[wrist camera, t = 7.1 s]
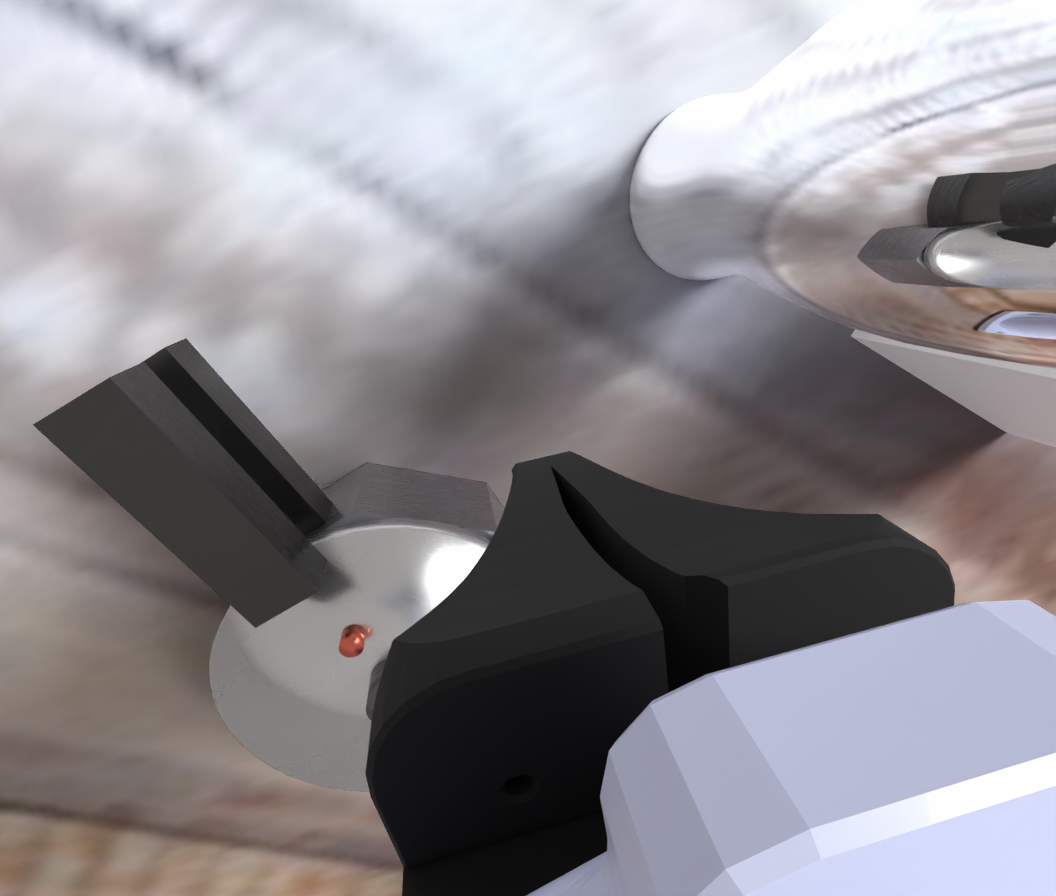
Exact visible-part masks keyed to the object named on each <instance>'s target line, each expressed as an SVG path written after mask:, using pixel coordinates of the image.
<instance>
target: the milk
mask: <svg viewBox="0 0 1056 896" xmlns="http://www.w3.org/2000/svg"><path fill="white" fill-rule="evenodd" d="M851 337H852V338H854V339H856V340H857V341H859V342H860V343H862V344H864V345H865V346H867V347H869V348H870V349H872V350H873V351H875V352H877V353H878V354H880V355H882V356H883V357H885V358H886V359H888V360H890V361H891V362H893V363H894V364H896V365H898V366H899V367H901V368H903V369H904V370H906V371H907V372H909V373H911V374H912V375H914V376H916V377H917V378H919V379H920V380H922V381H924V382H925V383H927V384H928V385H930V386H932V387H933V388H935V389H937V390H938V391H940V392H941V393H943V394H945V395H946V396H948V397H950V398H951V399H953V400H954V401H956V402H958V403H959V404H961V405H962V406H964V407H966V408H967V409H969V410H971V411H972V412H974V413H975V414H977V415H979V416H980V417H982V418H984V419H985V420H987V421H988V422H990V423H992V424H993V425H995V426H996V427H998V428H1000V429H1001V430H1003V431H1005V432H1006V433H1009V434H1012V435H1016V436H1019V437H1022V438H1026V439H1029V440H1032V441H1036V442H1039V443H1042V444H1046V445H1049V446H1052V447H1056V369H1054V368H1046V367H1039V366H1032V365H1026V364H1019V363H1012V362H1006V361H999V360H993V359H986V358H979V357H973V356H967V355H962V354H957V353H952V352H947V351H942V350H937V349H932V348H926V347H921V346H916V345H911V344H907V343H903V342H899V341H896V340H892V339H889V338H885V337H881V336H878V335H874V334H871V333H867V332H863V331H860V330H856V329H855V330H854V332H853V333H852V335H851Z"/></svg>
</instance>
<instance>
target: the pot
mask: <svg viewBox="0 0 1056 896" xmlns="http://www.w3.org/2000/svg"><path fill="white" fill-rule="evenodd" d="M143 362H145V364H146V365H147V366H148V367H149V368H150V369H151V370H152V371H153V372H154V373H155V374H156V375H157V377H158V378H159V379H160V380H161V381H162V382H163V383H164V384H165V385H166V386H167V387H168V388H169V389H170V391H171V392H172V393H173V394H174V395H175V396H176V397H177V398H178V399H179V400H180V401H181V402H182V404H183V405H184V406H185V407H186V408H187V409H188V410H189V411H190V412H191V413H192V414H193V415H194V417H195V418H196V419H197V420H198V421H199V422H200V423H201V424H202V425H203V426H204V427H205V428H206V430H207V431H208V432H209V433H210V434H211V435H212V436H213V437H214V438H215V439H216V440H217V441H218V443H219V444H220V445H221V446H222V447H223V448H224V449H225V450H226V451H227V452H228V453H229V454H230V455H231V457H232V458H233V459H234V460H235V461H236V462H237V463H238V464H239V465H240V466H241V467H242V468H243V470H244V471H245V472H246V473H247V474H248V475H249V476H250V477H251V478H252V479H253V480H254V481H255V483H256V484H257V485H258V486H259V487H260V488H261V489H262V490H263V491H264V492H265V493H266V494H267V496H268V497H269V498H270V499H271V500H272V501H273V502H274V503H275V504H276V505H277V506H278V507H279V509H280V510H281V511H282V512H283V513H284V514H285V515H286V516H287V517H288V518H289V519H290V520H291V521H292V523H293V524H294V525H295V526H296V527H297V528H298V529H299V530H300V531H301V532H302V533H303V534H304V536H305V537H306V538H307V537H309V536H311V535H313V534H316V533H319V532H322V531H324V530H327V529H330V528H333V527H336V526H341V525H345V524H349V523H353V522H357V521H365V520H373V519H381V518H412V519H422V520H432V521H436V522H441V523H446V524H450V525H455V526H458V527H460V528H463V529H466V530H469V531H472V532H475V533H477V534H479V535H481V536H483V537H485V538H487V539H489V540H491V539H492V537H493V535H494V533H495V531H496V529H497V527H498V525H499V522H500V520H501V517H502V515H503V512H504V510H505V509H504V507H503V506H502V504H501V503H500V502H499V500H498V499H497V497H496V496H495V494H494V493H493V492H492V490H491V489H490V487H489V486H488V485H487V483H485V482H479V481H473V480H467V479H461V478H455V477H449V476H443V475H437V474H431V473H425V472H419V471H413V470H407V469H401V468H395V467H389V466H383V465H377V464H371V463H366V464H364V465H363V466H361V467H359V468H358V469H356V470H355V471H353V472H351V473H350V474H348V475H346V476H345V477H343V478H341V479H340V480H338V481H337V482H335V483H333V484H332V485H330V486H328V487H327V488H325V489H323V490H322V491H321V489H320V488H319V487H318V486H317V485H316V484H315V483H314V482H313V480H312V479H311V478H310V477H309V476H308V475H307V474H306V473H305V471H304V470H303V469H302V468H301V467H300V466H299V465H298V464H297V462H296V461H295V460H294V459H293V458H292V457H291V456H290V455H289V453H288V452H287V451H286V450H285V449H284V448H283V447H282V446H281V445H280V443H279V442H278V441H277V440H276V439H275V438H274V437H273V436H272V434H271V433H270V432H269V431H268V430H267V429H266V428H265V427H264V425H263V424H262V423H261V422H260V421H259V420H258V419H257V418H256V416H255V415H254V414H253V413H252V412H251V411H250V410H249V409H248V407H247V406H246V405H245V404H244V403H243V402H242V401H241V400H240V398H239V397H238V396H237V395H236V394H235V393H234V392H233V391H232V389H231V388H230V387H229V386H228V385H227V384H226V383H225V382H224V381H223V379H222V378H221V377H220V376H219V375H218V374H217V373H216V372H215V370H214V369H213V368H212V367H211V366H210V365H209V364H208V363H207V361H206V360H205V359H204V358H203V357H202V356H201V355H200V354H199V352H198V351H197V350H196V349H195V348H194V347H193V346H192V345H191V343H190V342H189V341H188V340H187V339H184V340H181V341H179V342H177V343H174V344H172V345H170V346H167V347H165V348H164V349H162V350H160V351H159V352H157V353H156V354H154V355H153V356H151V357H150V358H148V359H146V360H145V361H143ZM143 362H142V363H143ZM140 364H141V363H140ZM229 607H230V605H229Z"/></svg>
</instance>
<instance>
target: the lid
mask: <svg viewBox="0 0 1056 896" xmlns="http://www.w3.org/2000/svg"><path fill="white" fill-rule="evenodd" d="M34 426H35V427H36V428H37V429H38V430H39V431H40V432H41V433H42V434H43V435H45V436H46V437H47V438H48V439H49V440H50V441H51V442H52V443H53V444H54V445H56V446H57V447H58V448H59V449H60V450H61V451H62V452H63V453H64V454H65V455H66V456H68V457H69V458H70V459H71V460H72V461H73V462H74V463H75V464H76V465H77V466H79V467H80V468H81V469H82V470H83V471H84V472H85V473H86V474H87V475H88V476H89V477H91V478H92V479H93V480H94V481H95V482H96V483H97V484H98V485H99V486H100V487H101V488H103V489H104V490H105V491H106V492H107V493H108V494H109V495H110V496H111V497H112V498H114V499H115V500H116V501H117V502H118V503H119V504H120V505H121V506H122V507H123V508H124V509H126V510H127V511H128V512H129V513H130V514H131V515H132V516H133V517H134V518H135V519H137V520H138V521H139V522H140V523H141V524H142V525H143V526H144V527H145V528H146V529H147V530H149V531H150V532H151V533H152V534H153V535H154V536H155V537H156V538H157V539H158V540H160V541H161V542H162V543H163V544H164V545H165V546H166V547H167V548H168V549H169V550H170V551H172V552H173V553H174V554H175V555H176V556H177V557H178V558H179V559H180V560H181V561H182V562H184V563H185V564H186V565H187V566H188V567H189V568H190V569H191V570H192V571H193V572H195V573H196V574H197V575H198V576H199V577H200V578H201V579H202V580H203V581H204V582H205V583H207V584H208V585H209V586H210V587H211V588H212V589H213V590H214V591H215V592H216V593H218V594H219V595H220V596H221V597H222V598H223V599H224V600H225V601H226V602H227V603H228V604H230V607H229V609H228V610H227V612H226V614H225V616H224V618H223V620H222V622H221V623H220V626H219V628H218V631H217V633H216V636H215V639H214V641H213V645H212V650H211V655H210V661H209V681H210V686H211V691H212V696H213V699H214V702H215V705H216V707H217V710H218V712H219V715H220V716H221V718H222V720H223V721H224V723H225V725H226V726H227V728H228V729H229V731H230V732H231V733H232V734H233V735H234V737H235V738H236V739H237V740H238V741H239V742H240V744H242V745H243V746H244V747H245V748H246V749H247V750H248V751H249V752H251V753H252V754H253V755H254V756H255V757H257V758H258V759H260V760H261V761H263V762H264V763H266V764H267V765H269V766H270V767H272V768H274V769H276V770H278V771H280V772H282V773H284V774H286V775H288V776H291V777H294V778H296V779H299V780H302V781H304V782H307V783H311V784H315V785H319V786H323V787H327V788H333V789H339V790H346V791H360V792H370V791H369V787H368V783H367V779H366V775H365V773H366V764H367V755H368V746H369V738H370V729H371V720H372V713H373V708H374V703H375V698H376V694H377V690H378V687H379V683H380V680H381V676H382V672H383V669H384V666H385V662H386V659H387V656H388V653H389V650H390V647H391V644H392V641H393V640H394V639H395V638H396V637H397V636H399V635H400V634H402V633H403V632H404V631H406V630H407V629H408V628H410V627H411V626H412V625H413V624H415V623H416V622H417V621H419V620H420V619H421V618H422V617H424V616H425V615H426V614H428V613H429V612H430V611H431V610H433V609H434V608H435V607H436V606H437V605H438V604H439V603H440V602H442V601H443V600H444V599H445V598H446V597H447V596H448V595H449V594H450V593H451V592H452V591H453V590H454V589H455V588H456V587H457V586H458V585H459V584H460V583H461V582H462V581H463V579H464V578H465V577H466V576H467V575H468V574H469V572H470V571H471V570H472V568H473V567H474V566H475V564H476V563H477V561H478V560H479V559H480V557H481V556H482V554H483V553H484V551H485V549H486V548H487V546H488V544H489V543H490V541H491V540H489V539H487V538H485V537H483V536H481V535H479V534H477V533H475V532H472V531H469V530H466V529H463V528H460V527H458V526H455V525H450V524H446V523H441V522H436V521H432V520H422V519H412V518H381V519H373V520H365V521H357V522H353V523H349V524H345V525H341V526H336V527H333V528H330V529H327V530H324V531H322V532H319V533H316V534H313V535H311V536H309V537H307V538H306V537H305V536H304V534H303V533H302V532H301V531H300V530H299V529H298V528H297V527H296V526H295V525H294V524H293V523H292V521H291V520H290V519H289V518H288V517H287V516H286V515H285V514H284V513H283V512H282V511H281V510H280V509H279V507H278V506H277V505H276V504H275V503H274V502H273V501H272V500H271V499H270V498H269V497H268V496H267V494H266V493H265V492H264V491H263V490H262V489H261V488H260V487H259V486H258V485H257V484H256V483H255V481H254V480H253V479H252V478H251V477H250V476H249V475H248V474H247V473H246V472H245V471H244V470H243V468H242V467H241V466H240V465H239V464H238V463H237V462H236V461H235V460H234V459H233V458H232V457H231V455H230V454H229V453H228V452H227V451H226V450H225V449H224V448H223V447H222V446H221V445H220V444H219V443H218V441H217V440H216V439H215V438H214V437H213V436H212V435H211V434H210V433H209V432H208V431H207V430H206V428H205V427H204V426H203V425H202V424H201V423H200V422H199V421H198V420H197V419H196V418H195V417H194V415H193V414H192V413H191V412H190V411H189V410H188V409H187V408H186V407H185V406H184V405H183V404H182V402H181V401H180V400H179V399H178V398H177V397H176V396H175V395H174V394H173V393H172V392H171V391H170V389H169V388H168V387H167V386H166V385H165V384H164V383H163V382H162V381H161V380H160V379H159V378H158V377H157V375H156V374H155V373H154V372H153V371H152V370H151V369H150V368H149V367H148V366H147V365H146V364H145V362H143V363H141V364H138V365H136V366H134V367H132V368H130V369H127V370H125V371H123V372H121V373H119V374H116V375H114V376H112V377H110V378H108V379H106V380H105V381H103V382H102V383H100V384H98V385H97V386H95V387H94V388H92V389H90V390H89V391H87V392H85V393H84V394H82V395H81V396H79V397H77V398H76V399H74V400H72V401H71V402H69V403H68V404H66V405H64V406H63V407H61V408H59V409H58V410H56V411H55V412H53V413H51V414H50V415H48V416H46V417H45V418H43V419H42V420H40V421H38V422H37V423H35V424H34Z"/></svg>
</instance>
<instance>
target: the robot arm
mask: <svg viewBox="0 0 1056 896" xmlns="http://www.w3.org/2000/svg"><path fill="white" fill-rule="evenodd" d="M512 473H513V479H512V485H511V490H510V494H509V497H508V501H507V504H506V507H505V510H504V512H503V515H502V517H501V520H500V522H499V525H498V527H497V529H496V531H495V533H494V535H493V537H492V539H491V541H490V543H489V544H488V546H487V548H486V549H485V551H484V553H483V554H482V556H481V557H480V559H479V560H478V561H477V563H476V564H475V566H474V567H473V568H472V570H471V571H470V572H469V574H468V575H467V576H466V577H465V578H464V579H463V581H462V582H461V583H460V584H459V585H458V586H457V587H456V588H455V589H454V590H453V591H452V592H451V593H450V594H449V595H448V596H447V597H446V598H445V599H444V600H443V601H442V602H440V603H439V604H438V605H437V606H436V607H435V608H434V609H433V610H431V611H430V612H429V613H428V614H426V615H425V616H424V617H422V618H421V619H420V620H419V621H417V622H416V623H415V624H413V625H412V626H411V627H410V628H408V629H407V630H406V631H404V632H403V633H402V634H400V635H399V636H397V637H396V638H395V639H394V640H393V641H392V644H391V647H390V650H389V653H388V656H387V659H386V662H385V666H384V669H383V672H382V676H381V680H380V683H379V687H378V690H377V694H376V698H375V703H374V708H373V713H372V720H371V729H370V738H369V746H368V755H367V764H366V773H365V775H366V779H367V783H368V787H369V791H370V795H371V798H372V800H373V802H374V805H375V807H376V809H377V811H378V813H379V815H380V817H381V819H382V822H383V824H384V826H385V828H386V830H387V832H388V834H389V837H390V839H391V841H392V843H393V845H394V847H395V849H396V851H397V854H398V856H399V858H400V860H401V862H402V864H403V866H404V870H403V891H402V896H1056V617H1055V616H1054V615H1052V614H1050V613H1049V612H1047V611H1046V610H1044V609H1042V608H1041V607H1039V606H1037V605H1036V604H1034V603H1032V602H1031V601H1029V600H1010V601H989V602H972V603H964V604H958V605H955V606H954V594H955V584H954V581H953V578H952V575H951V571H950V568H949V565H948V564H947V563H946V562H945V561H944V560H943V558H942V557H941V556H940V555H939V554H938V553H937V551H936V550H934V549H932V548H931V547H929V546H928V545H926V544H925V543H923V542H921V541H920V540H918V539H917V538H915V537H914V536H912V535H910V534H909V533H907V532H906V531H904V530H902V529H901V528H899V527H898V526H896V525H895V524H893V523H891V522H890V521H888V520H887V519H885V518H883V517H882V516H880V515H878V514H799V513H786V512H772V511H761V510H753V509H744V508H738V507H732V506H725V505H719V504H713V503H708V502H704V501H699V500H694V499H691V498H687V497H683V496H679V495H675V494H672V493H668V492H665V491H662V490H658V489H655V488H653V487H650V486H647V485H645V484H642V483H639V482H636V481H634V480H631V479H629V478H627V477H624V476H622V475H620V474H617V473H615V472H613V471H611V470H608V469H606V468H604V467H602V466H600V465H598V464H596V463H594V462H592V461H590V460H588V459H586V458H584V457H582V456H580V455H578V454H576V453H573V452H571V451H568V452H564V453H560V454H555V455H551V456H547V457H543V458H538V459H534V460H530V461H525V462H521V463H517V464H515V466H514V467H513V469H512Z"/></svg>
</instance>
